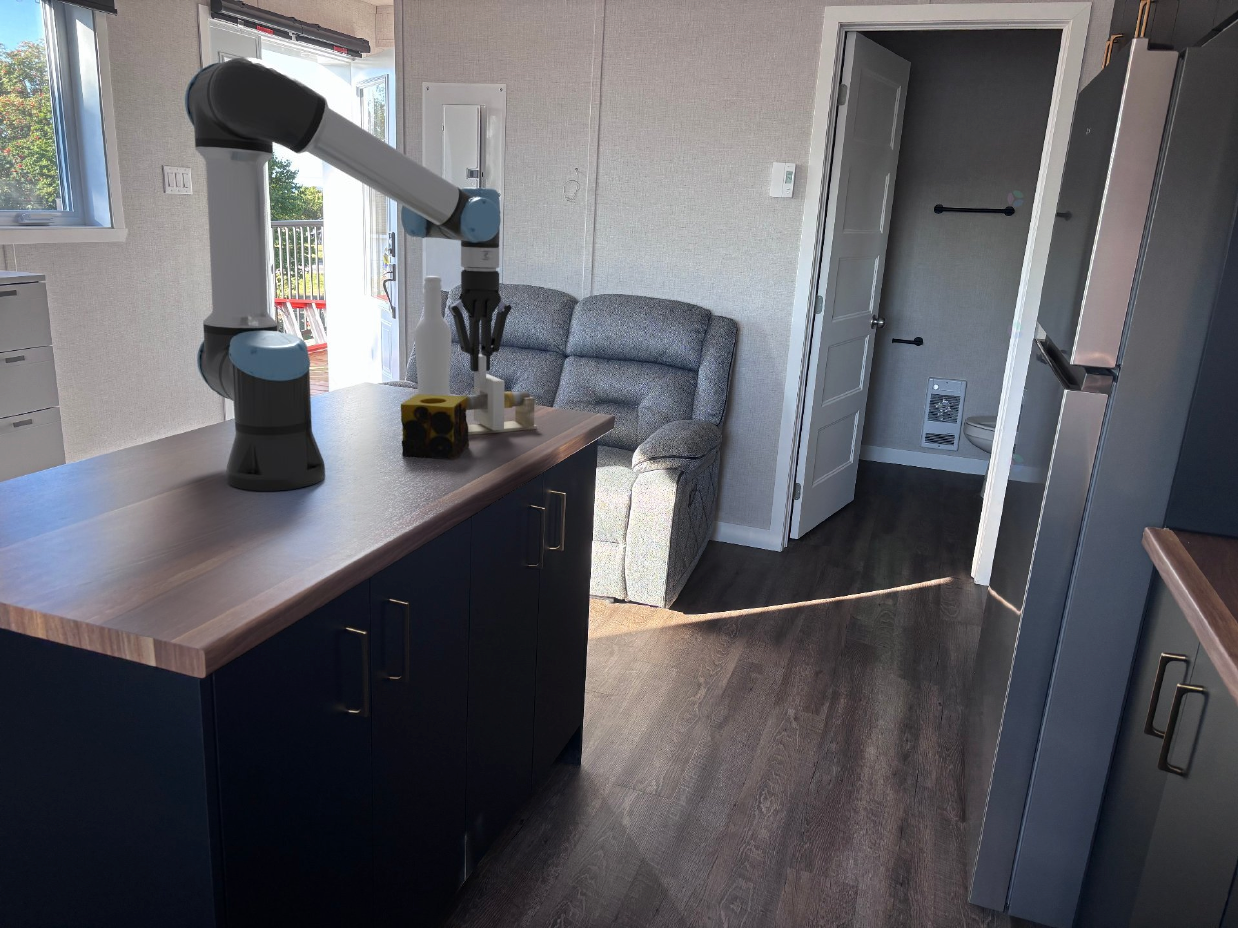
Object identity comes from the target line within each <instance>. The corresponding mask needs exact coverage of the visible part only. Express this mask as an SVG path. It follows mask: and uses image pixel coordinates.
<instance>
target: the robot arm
mask: <svg viewBox="0 0 1238 928" xmlns="http://www.w3.org/2000/svg"><path fill="white" fill-rule="evenodd" d="M184 107H185V111H186V115H187V117H188V119H189V122H190V123H191V124H192V126H193V127H194V128H193V130H194V147H195V149H194V150H195V151H196V152H197V153H198V154H199V155H200V156H201V158H203V159H204V161H205V162H206V164H205V165H206V167H205V168H206V186H207V187H206V188H207V190H206V192H207V206H208V207H207V210H208V211H207V212H208V214H207V215H208V233H209V234H208V235H209V254H210V255H209V258H210V260H209V261H210V280H211V281H210V282H211V303H212V304H211V305H212V311H211V313H210V314H208V315H207V316H206V318H205V319H203V321H202V324H203V325H202V326H203V341H202V342H201V344H200V346H199V348H198V351H197V357H196V359H197V360H196V361H197V363H196V364H197V369H198V371H199V374H200V376H201V378H202V379H203V381H204V382H205V384H207V386H208V387H209V388H210V389H211V390H212V391H213V392H215V393H216V394H218V395H219V396H221V397H222V398H224V399H229V400H230V401H232V403H233V415H234V426H235V436H234V439H233V443H232V446H231V449H230V450H231V451H230V454H229V457H228V461H227V465H226V471H225V472H226V482H227V484H228V485H229V486H232V487H234V488H236V489H237V488H238V489H242V490H245V491H247V490H248V491H259V492H273V491H274V492H275V491H276V492H277V491H287V490H296V489H301V488H305V487H309V486H313V485H314V484H317V483H320V482H322V481H323V480H324V479H325V477H326V468H325V467H326V465H325V461H324V459H323V456H322V453H321V451H320V448H319V446H318V443H317V441H316V438H315V435H314V433H313V428H312V427H313V424H312V402H311V401H312V400H311V399H312V398H311V375H310V371H311V370H310V366H311V359H310V356H309V351H308V350H309V349H308V345H307V344H306V342H305V341H304V340H303V339H302V338H301V337H299V336H297V335H295V334H291V333H285V332H284V333H283V332H281V331H278V329H279V328H278V322H277V321H276V320H275V319H274V318H273V317H272V316H271V315H270V314H269V312H268V288H267V287H268V285H267V282H268V280H267V277H268V275H267V252H266V249H267V248H266V247H267V245H266V214H265V213H266V212H265V179H264V178H265V176H264V175H265V174H264V166H265V165H266V164H267V162H269V160H271V159H272V158H273V156H274V150H273V149H274V147H273V146H274V145H273V144H277V145H280V146H282V147H284V148H287V149H288V150H290V151H292V152H294V153H296V154H297V155H298V154H302V153H309V154H310V155H313V156H314V157H316V158H318V159H320V160H321V161H323V162H325V163H326V164H328V165H330V166H332V167H334V168H335V169H337V170H339V171H341V172H343V173H344V174H346V175H348V176H350V177H352V178H353V179H355V180H356V181H358V182H360V183H362V184H364V185H366V186H367V187H370V188H371V189H372V190H375V191H377V192H378V193H379V194H382V195H383V196H385V197H386V198H389V199H391V200H392V201H394V202H396V203H398V204H399V205H401V210H400V217H401V218H400V220H401V226H402V228H403V230H404V232H405V233H406V234H407V235H408V237H409V236H410V237H412V238H421V239H425V238H428V239H430V238H431V239H433V238H434V239H435V238H436V239H444V240H445V239H446V240H457V241H460V266H461V267H462V268H463V270H462V271H460V287H461V288H460V289H461V291H460V295H459V297H458V301H456V302H455V303H452V304H449V305H448V306H447V307H448V311H449V312H450V313H451V315H452V317H453V323H454V325H455V330H456V334H457V340H458V342H459V346H460V347H459V348H460V350H461V351H462V352H463V353H467V354H469V369H470V371H471V372H474V373H473V387H474V386H475V387H478V388H486V374H487V372H489V371H490V370H491V356H493V354H494V353H499V350H500V349H501V345H502V344H501V343H502V340H503V335H504V331H505V326H506V322H507V317H508V315H509V313H510V312H511V310H512V309H513V308H512V305H511V304H508V303H506V302H504V301H503V300H502V297H501V294H500V272H499V270H497V269H498V268H500V232H501V231H500V226H501V222H502V221H501V220H502V219H501V218H502V217H501V206H500V195H499V191H497V189H495V188H488V187H487V188H485V187H463V188H460V187H458V186H456V185H455V184H453V183H451V182H450V181H449V180H446V179H445V178H443V177H442V176H441V175H439V174H437V173H435V172H434V171H432V170H430V169H429V168H427V167H426V166H423V164H421V163H419V162H417V161H416V160H414V159H413V158H411V157H409V156H408V155H406V154H404V153H403V152H402V151H400V150H398V149H396V148H395V147H393V146H391V145H390V144H388V143H387V142H385V141H384V140H382V139H380V138H379V137H377V136H375V135H373V134H372V133H370V132H369V131H367V130H366V129H364V128H362V127H360V125H358V124H356V123H355V122H353V121H351V120H350V119H348V118H347V117H344V116H343V115H341V114H339V113H338V112H336V111H335V110H333V109H332V108H330V107H329V105H328V101H327V98H326V97H325V96H323V95H322V94H320V93H319V92H317V91H316V90H313V89H312V88H311V87H309V86H308V85H306V84H304V83H303V82H301V81H299V80H298V79H296V78H295V77H293V76H292V75H290V74H288V73H286V72H285V71H284V70H282V69H280V68H279V67H277V66H275V65H273V64H270V63H268V62H266V61H264V60H263V59H259V58H254V57H251V56H250V57H247V56H241V57H235V58H232V59H229V60H226V61H223V62H214V63H211V64H209V65H207V66H204V67H203V68H201V69H200V70H199V71H198V72H197V73H196V74H195V75H194V76H193V77H192V78H191V79H190V81H189V83H188V84H187V87H186V90H185V96H184ZM463 310H465V311H466V313H467V316H468V318H467V319H468V326H469V327H468V332H467V326H466V322H465V318H464V315H463V312H464V311H463ZM495 310H497V313H496V316H495V320H494V325H493V328H492V322H493V315H494V312H495ZM468 333H469V334H468ZM480 352H481V353H480Z"/></svg>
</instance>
